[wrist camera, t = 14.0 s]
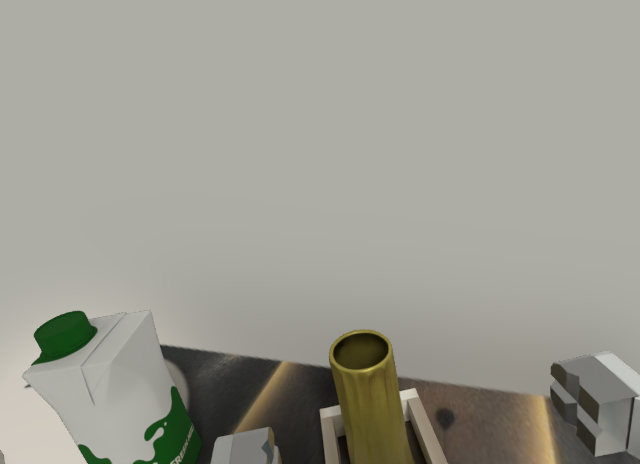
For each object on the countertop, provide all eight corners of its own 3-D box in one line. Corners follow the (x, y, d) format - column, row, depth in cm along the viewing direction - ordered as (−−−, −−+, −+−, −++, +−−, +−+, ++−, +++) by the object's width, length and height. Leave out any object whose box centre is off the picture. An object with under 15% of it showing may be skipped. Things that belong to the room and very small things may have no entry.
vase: (374, 430, 41) (352, 318, 36) (427, 459, 37) (411, 338, 32) (339, 477, 37) (308, 359, 32) (394, 515, 33) (370, 387, 28)
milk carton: (140, 444, 45) (66, 300, 38) (214, 435, 44) (153, 285, 37) (99, 525, 37) (-5, 362, 30) (188, 515, 36) (104, 344, 29)
